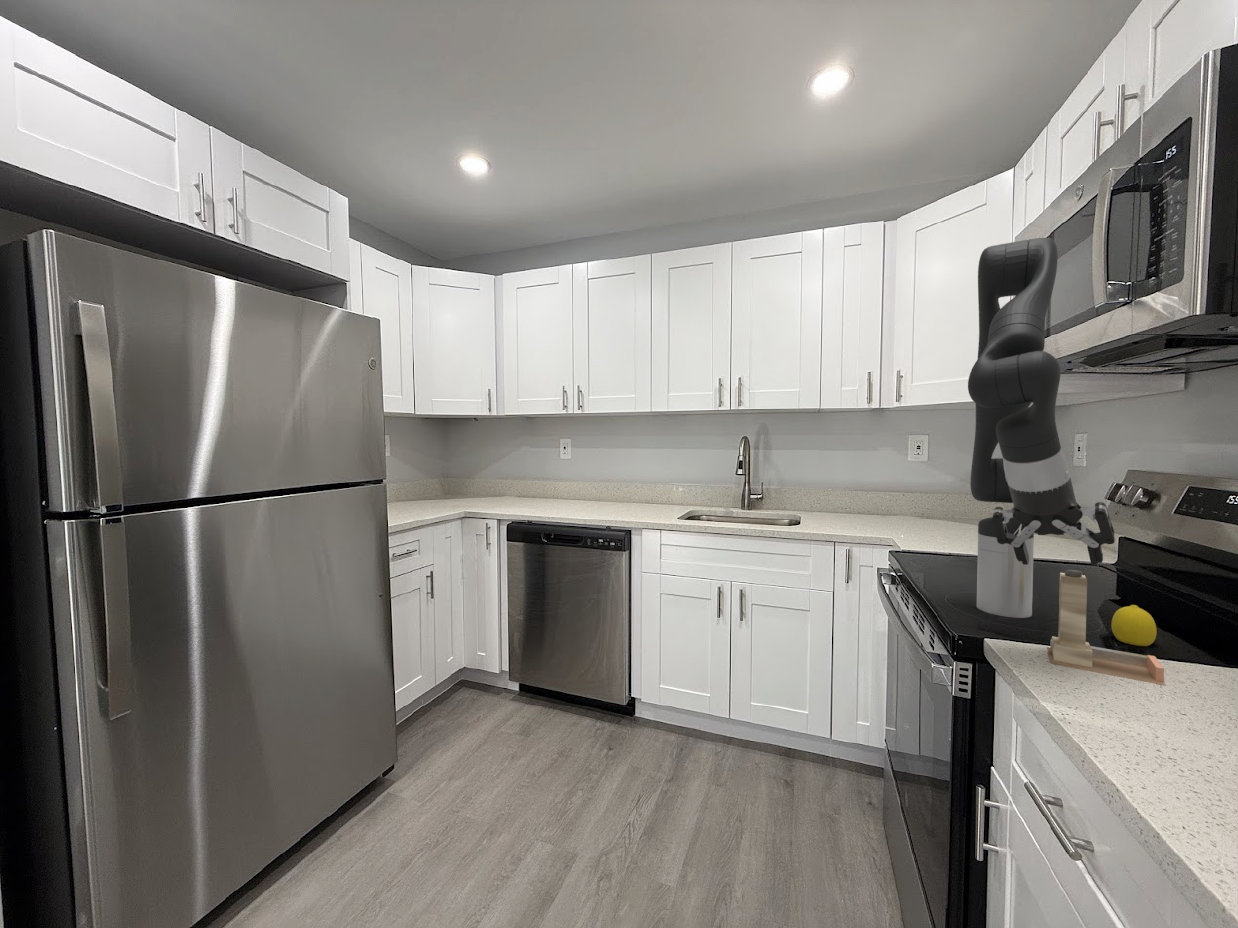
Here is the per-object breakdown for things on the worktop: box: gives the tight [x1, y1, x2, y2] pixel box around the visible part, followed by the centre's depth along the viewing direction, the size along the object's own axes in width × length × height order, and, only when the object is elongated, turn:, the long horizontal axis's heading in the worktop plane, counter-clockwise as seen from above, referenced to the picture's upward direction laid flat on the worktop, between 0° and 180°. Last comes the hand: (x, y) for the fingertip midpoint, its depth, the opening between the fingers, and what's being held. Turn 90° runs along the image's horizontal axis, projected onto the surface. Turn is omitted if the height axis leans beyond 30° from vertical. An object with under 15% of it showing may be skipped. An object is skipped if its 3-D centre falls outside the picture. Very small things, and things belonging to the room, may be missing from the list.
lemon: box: [1111, 604, 1157, 647], centre depth 88 cm, size 6×6×8 cm
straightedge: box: [1049, 638, 1147, 668], centre depth 82 cm, size 1×12×2 cm, turn 53°
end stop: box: [1146, 654, 1165, 683], centre depth 76 cm, size 5×1×2 cm, turn 143°
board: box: [1046, 646, 1167, 686], centre depth 79 cm, size 8×13×2 cm, turn 53°
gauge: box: [1051, 569, 1093, 667], centre depth 81 cm, size 4×4×14 cm
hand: (1059, 562), depth 82 cm, fingers open, 8 cm apart
